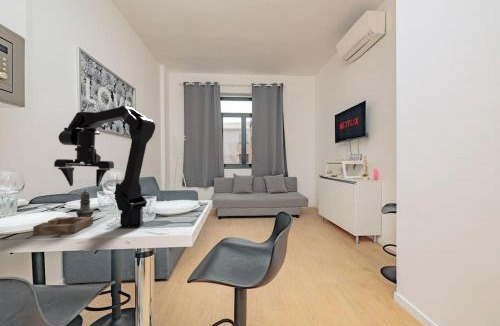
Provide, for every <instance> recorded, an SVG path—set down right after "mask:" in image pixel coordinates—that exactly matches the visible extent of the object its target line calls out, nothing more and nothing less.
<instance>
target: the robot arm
mask: <svg viewBox="0 0 500 326" xmlns="http://www.w3.org/2000/svg"><path fill="white" fill-rule="evenodd" d="M121 120H123V121H124V123H125V124H126V125H128V132H129V136H130V139H131V143H130V148H129V152H128V158H127V162H126V168H125V173H124V177H123V180H121V182H117V183H116V184H115V191H114V192H113V195H114V200H115V204H116V205H117V210H118V211H121V213H120V216H119V217H120V222H119V223H120V226H119V228H140V227H141V226H143V224H144V223H145V221H144V220H143V219H144V218H143V216H144V214H143V209H144V208H146V206H147V204H148V201H147V200H146V198H145V197H144V196H143V195H142V186H141V183H140V177H141V173H142V172H141V171H142V167H143V163H144V158H145V152H146V149H147V144H148V142H150V140H151V139H152V138H153V136H154V133H155V130H156V124H155V122H154V120H152V119H150V118H147V117H146V116H145V115H143V114H141V113H140V112H138V111H136V110H135V108H133V107H131V106H127V105H120V106H118V107H113V108H110V109H109V108H108V109H106V110H104V109H103V110H101V111H96V112H95V111H94V112H93V111H91V112H90V111H78V112H76V113H75V116H74V117H73V119H72V120H71V122H70V123H69V124H68V126H67V127H64V128H63V130H62V131H60V133H59V135H58V141H59V142H60V144H62V145H64V146H76V147H74V148H75V149H74V151H75V152H76V158H74V159H69V158H59V159H58V158H57V159H55V160H54V161H53V167H54V168H57V170H60V171H61V173H62V174H63V176H64V177H65V179H66V181H67V182H68V185H69V186H70V187H73V185H74V170H75V167H93V168H94V167H95V168H98V169H96V173H95V174H96V175H95V176H96V178H95V184H96V187H98V188H99V186H100V184H101V183H102V180H103V177H104V176H105V174H106V173H107V171H110V170H111V169H114V168H115V163H114V161H113V160H101V159H102V156H101V155H99V154H98V153H97V149H96V148H95V146H96V145H95V144H96V136H99V135H101V133H100V132H99V131H98V128H100V127H101V126H103V125H104V124H107V123H112V122H117V121H121Z"/></svg>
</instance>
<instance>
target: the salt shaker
mask: <svg viewBox="0 0 500 326" xmlns="http://www.w3.org/2000/svg"><path fill="white" fill-rule="evenodd" d="M90 195H91V194H90V192H88V191H87V190H86V189H84V191H83V192H81V194H80V201H79V203H80V204H79V205H80V208H79V210H76V212H75V214H76V217H93V214H94V212H95V210H94V209H91V206H90V205H91V200H90V198H91V197H90Z"/></svg>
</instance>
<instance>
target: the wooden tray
mask: <svg viewBox="0 0 500 326" xmlns="http://www.w3.org/2000/svg"><path fill="white" fill-rule="evenodd" d="M93 224H94V217H93V216H91V217H78V216H72V217H71V216H70V217H69V216H67V217H66V216H65V217H62V216H60V217H54V218H52V219H50V220H48V221H47V222H42V223H39V224H37V225H36V224H35V226H34V225H33V231H32V232H33V233H32V234H33V236H34V235H60V234H61V235H65V234H67V235H68V234H76V233H79V232H81V231H82V230H83V229H86V228H87V227H89V226H91V225H93Z"/></svg>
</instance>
